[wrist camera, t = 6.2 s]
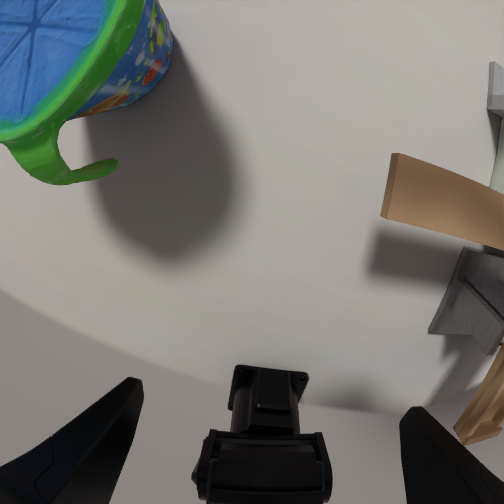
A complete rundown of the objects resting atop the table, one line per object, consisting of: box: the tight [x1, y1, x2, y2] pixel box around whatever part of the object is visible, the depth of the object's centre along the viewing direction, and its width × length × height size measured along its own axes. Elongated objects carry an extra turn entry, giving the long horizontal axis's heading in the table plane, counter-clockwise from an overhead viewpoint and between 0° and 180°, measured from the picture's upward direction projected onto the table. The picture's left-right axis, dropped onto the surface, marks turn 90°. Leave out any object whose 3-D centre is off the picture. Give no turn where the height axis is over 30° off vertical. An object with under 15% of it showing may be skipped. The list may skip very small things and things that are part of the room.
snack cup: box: [0, 0, 173, 185], centre depth 11 cm, size 16×10×10 cm
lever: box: [380, 153, 504, 446], centre depth 14 cm, size 18×19×3 cm
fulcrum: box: [429, 246, 504, 355], centre depth 18 cm, size 8×10×7 cm
